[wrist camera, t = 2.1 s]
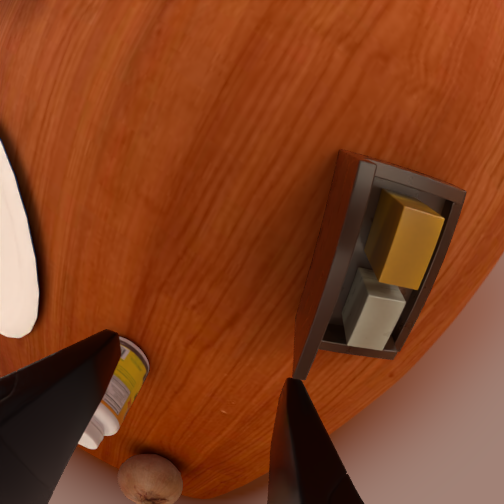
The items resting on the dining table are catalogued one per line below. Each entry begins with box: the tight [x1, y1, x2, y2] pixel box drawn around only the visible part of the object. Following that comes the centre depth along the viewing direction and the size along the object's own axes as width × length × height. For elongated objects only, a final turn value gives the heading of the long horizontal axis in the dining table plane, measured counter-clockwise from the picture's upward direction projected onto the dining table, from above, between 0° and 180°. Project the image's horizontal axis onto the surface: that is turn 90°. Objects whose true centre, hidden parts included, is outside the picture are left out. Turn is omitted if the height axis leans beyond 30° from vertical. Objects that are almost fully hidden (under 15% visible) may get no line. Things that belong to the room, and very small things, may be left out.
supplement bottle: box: [78, 337, 149, 449], centre depth 21 cm, size 6×6×10 cm
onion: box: [118, 454, 183, 504], centre depth 31 cm, size 10×9×10 cm
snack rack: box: [292, 149, 466, 380], centre depth 16 cm, size 8×12×6 cm, turn 170°
